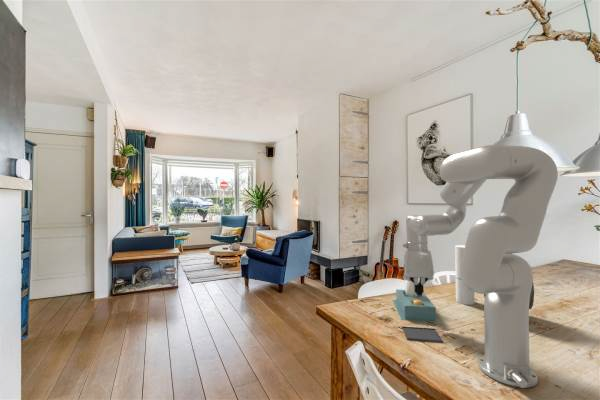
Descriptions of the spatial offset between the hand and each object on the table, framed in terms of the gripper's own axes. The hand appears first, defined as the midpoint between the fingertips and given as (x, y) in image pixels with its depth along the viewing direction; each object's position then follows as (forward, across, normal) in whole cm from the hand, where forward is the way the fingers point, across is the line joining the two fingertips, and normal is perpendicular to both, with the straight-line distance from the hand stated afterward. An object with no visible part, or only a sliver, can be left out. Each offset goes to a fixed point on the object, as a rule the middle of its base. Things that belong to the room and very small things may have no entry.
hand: (419, 294), depth 105 cm
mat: (+10, -2, -11) cm, 15 cm away
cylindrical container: (+10, +24, +22) cm, 34 cm away
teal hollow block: (+9, 0, +7) cm, 12 cm away
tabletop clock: (+10, +34, +9) cm, 37 cm away
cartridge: (+8, 0, +11) cm, 14 cm away
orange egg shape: (+7, -1, +1) cm, 7 cm away
